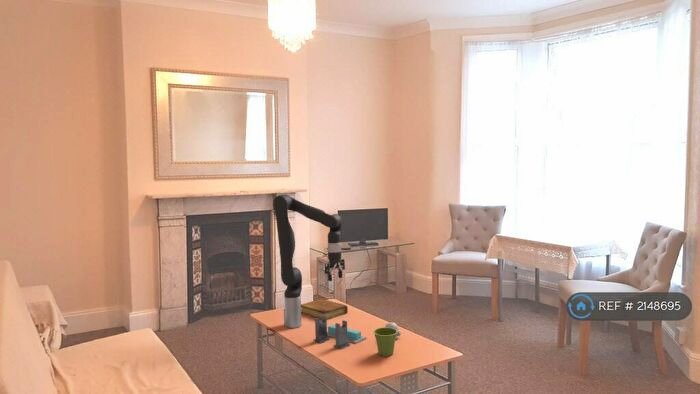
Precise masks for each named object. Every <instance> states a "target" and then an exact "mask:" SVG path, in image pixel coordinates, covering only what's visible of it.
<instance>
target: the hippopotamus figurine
mask: <svg viewBox="0 0 700 394" xmlns="http://www.w3.org/2000/svg"><path fill="white" fill-rule="evenodd" d="M385 324H386V325H385V326H384V327H389V328H394V329H396V330H397V331H398V332H397V334H396V338H395V341H396V340H397V339H398V337H400V336H401V335H402V333H401V331H400V330H399V326H398V325H397V323H395V322H387V323H385Z"/></svg>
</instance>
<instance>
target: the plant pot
mask: <svg viewBox="0 0 700 394" xmlns="http://www.w3.org/2000/svg"><path fill="white" fill-rule="evenodd" d="M397 332H398V331H397V330H396V329H394V328H389V327H385V326H383V327H377V328H375V329H373V330H372V333H373V334H374V337H375V341H376V345H377V353H378V354H379V355H380V356H383V357H390V356H392V355H393V354H394V352H395V345H396V344H395V343H396V340H395V338H396V336H397V335H396V334H397Z"/></svg>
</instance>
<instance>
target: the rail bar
mask: <svg viewBox="0 0 700 394" xmlns="http://www.w3.org/2000/svg"><path fill="white" fill-rule="evenodd" d="M327 332H328V333H331V334H335V335H336V331H335V324H330V325H327ZM361 336H362V332H361V331H359V330H355V329H351V328H347V338H350V339H354V340H358V339H361Z"/></svg>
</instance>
